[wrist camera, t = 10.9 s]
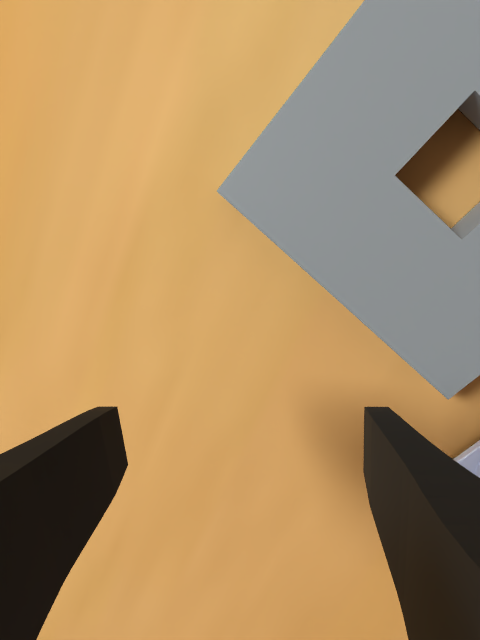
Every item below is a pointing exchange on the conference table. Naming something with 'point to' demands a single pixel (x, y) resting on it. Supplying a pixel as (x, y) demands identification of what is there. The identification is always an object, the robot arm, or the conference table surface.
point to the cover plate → (378, 181)
